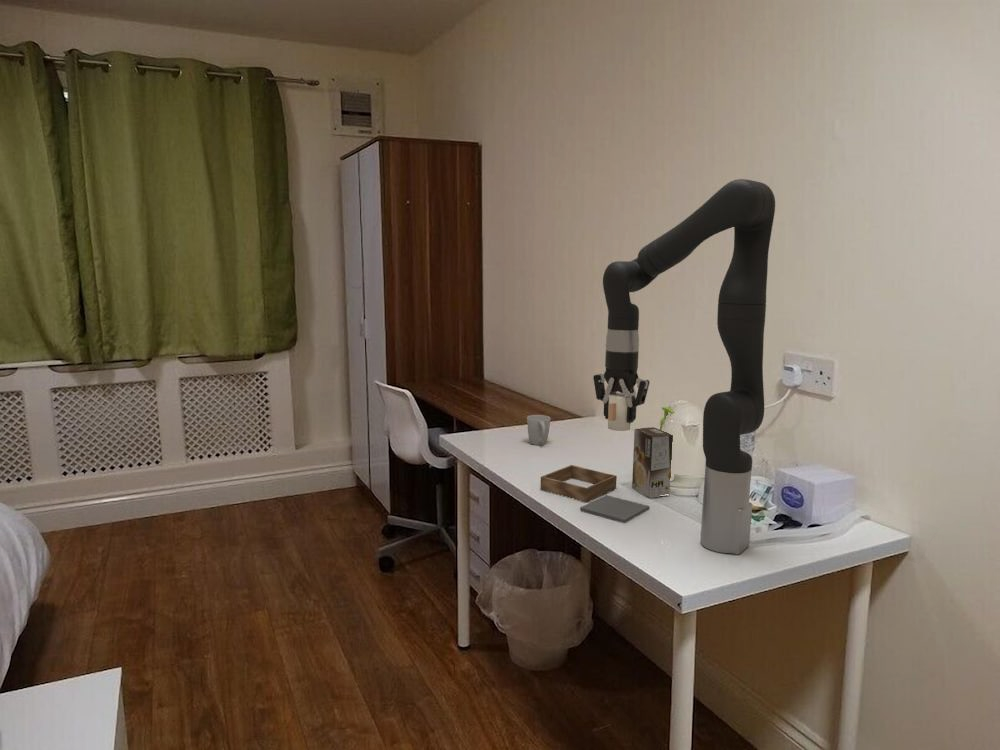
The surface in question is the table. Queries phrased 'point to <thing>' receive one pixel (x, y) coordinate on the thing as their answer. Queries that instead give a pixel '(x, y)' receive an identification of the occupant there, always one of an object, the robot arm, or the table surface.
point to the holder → (557, 486)
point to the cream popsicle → (618, 412)
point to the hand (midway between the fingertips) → (619, 420)
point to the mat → (615, 508)
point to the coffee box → (652, 461)
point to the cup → (538, 429)
